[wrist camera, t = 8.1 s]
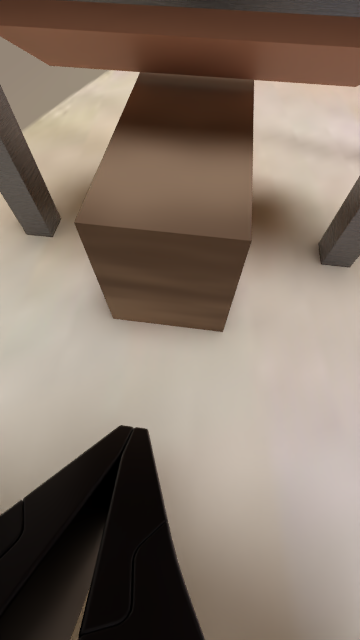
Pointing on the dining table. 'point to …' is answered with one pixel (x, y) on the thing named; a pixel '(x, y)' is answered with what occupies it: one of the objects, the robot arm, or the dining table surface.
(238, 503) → the dining table surface
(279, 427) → the dining table surface
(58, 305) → the dining table surface
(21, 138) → the gate frame
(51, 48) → the flap door
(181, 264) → the block
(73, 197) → the dining table surface
